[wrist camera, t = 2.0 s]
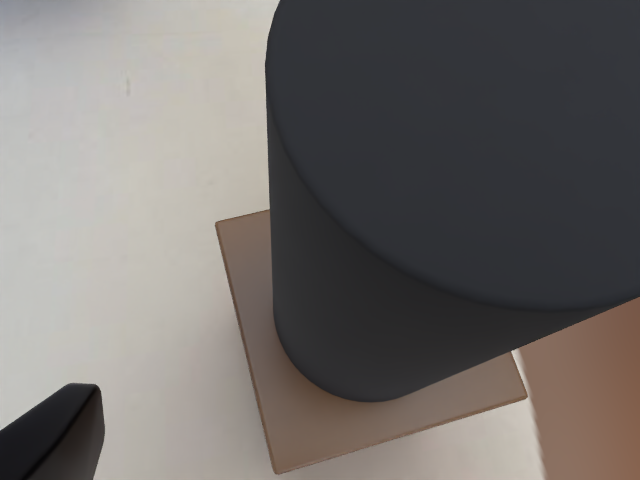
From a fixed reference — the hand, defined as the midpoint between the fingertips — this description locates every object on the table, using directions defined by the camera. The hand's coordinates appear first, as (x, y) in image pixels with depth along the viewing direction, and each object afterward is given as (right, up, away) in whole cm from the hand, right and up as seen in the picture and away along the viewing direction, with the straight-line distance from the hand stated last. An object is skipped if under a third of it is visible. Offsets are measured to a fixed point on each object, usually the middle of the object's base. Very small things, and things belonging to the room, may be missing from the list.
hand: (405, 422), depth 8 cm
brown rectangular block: (-1, -2, +13) cm, 13 cm away
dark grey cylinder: (0, +1, +5) cm, 5 cm away
